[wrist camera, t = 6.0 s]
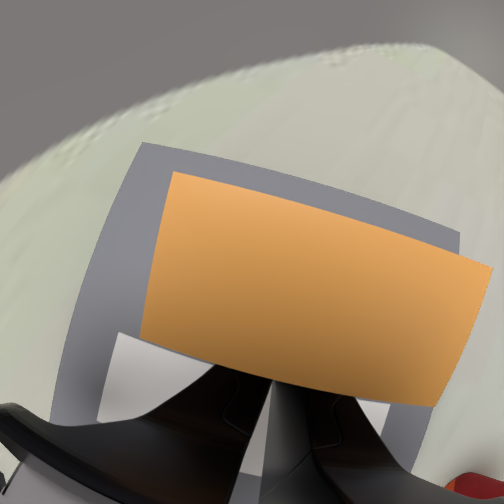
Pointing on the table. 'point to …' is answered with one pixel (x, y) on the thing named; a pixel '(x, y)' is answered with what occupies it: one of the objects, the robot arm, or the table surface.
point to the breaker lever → (307, 295)
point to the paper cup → (476, 486)
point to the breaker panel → (176, 363)
